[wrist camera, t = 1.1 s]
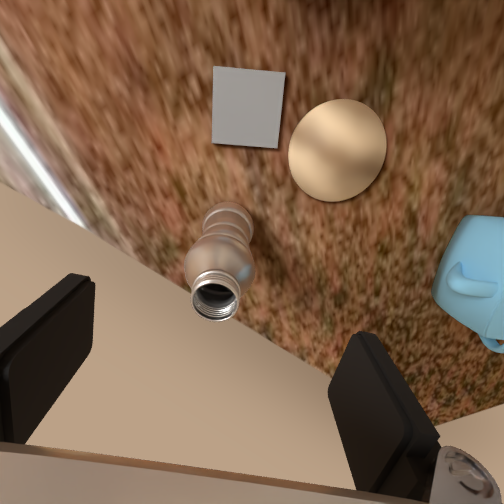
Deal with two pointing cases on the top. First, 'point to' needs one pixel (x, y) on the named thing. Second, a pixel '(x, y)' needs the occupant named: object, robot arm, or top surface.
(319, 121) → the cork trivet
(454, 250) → the teapot
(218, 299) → the silver metal bottle
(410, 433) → the robot arm
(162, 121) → the top surface
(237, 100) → the slate coaster
